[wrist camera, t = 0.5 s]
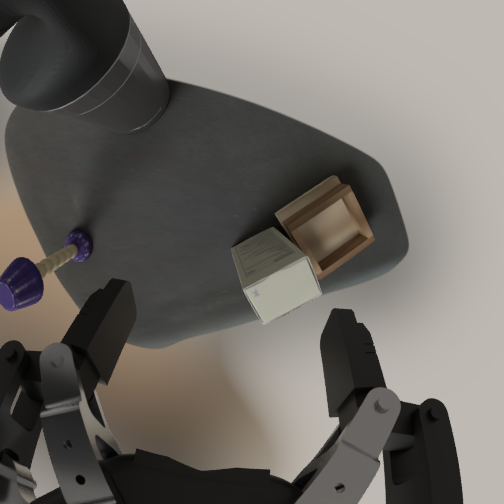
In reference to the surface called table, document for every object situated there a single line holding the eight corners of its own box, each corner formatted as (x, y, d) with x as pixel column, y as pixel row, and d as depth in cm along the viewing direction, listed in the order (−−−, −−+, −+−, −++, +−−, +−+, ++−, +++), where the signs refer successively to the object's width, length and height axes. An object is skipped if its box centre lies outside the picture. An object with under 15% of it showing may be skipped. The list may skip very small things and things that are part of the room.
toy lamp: (60, 235, 30) (-18, 283, 14) (83, 219, 30) (3, 263, 14) (76, 265, 31) (8, 329, 16) (99, 251, 31) (32, 315, 16)
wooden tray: (274, 213, 33) (282, 219, 29) (332, 175, 33) (346, 177, 29) (312, 274, 36) (322, 286, 33) (363, 237, 36) (378, 245, 32)
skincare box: (244, 276, 35) (260, 328, 24) (229, 247, 34) (238, 291, 22) (289, 253, 35) (324, 296, 24) (275, 224, 34) (308, 255, 22)
